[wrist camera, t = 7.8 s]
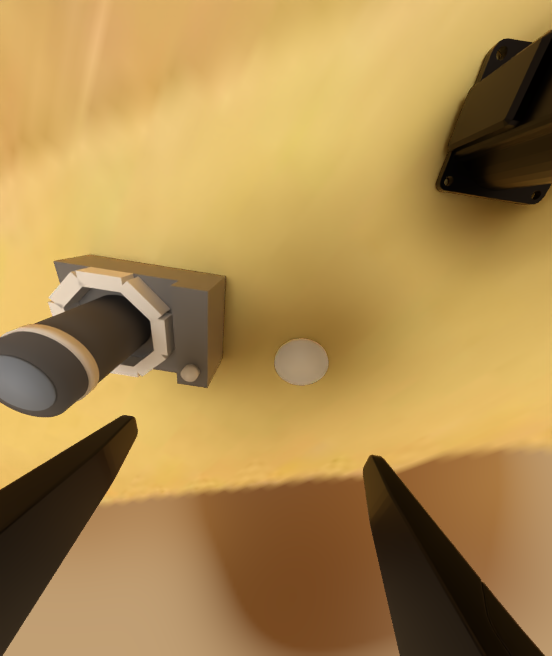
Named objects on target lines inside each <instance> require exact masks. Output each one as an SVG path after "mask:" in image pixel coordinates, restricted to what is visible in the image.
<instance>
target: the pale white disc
mask: <svg viewBox="0 0 552 656" xmlns="http://www.w3.org/2000/svg"><path fill="white" fill-rule="evenodd" d="M328 364H329V362H328V357H327V353H326V351H325V350H324V348H323V347H322V346H321V345H320V344H319V343H317V342H315V341H313V340H310V339H305V338H298V339H293V340H290V341H288V342H286V343H284V344H283V345H282V346H281V347H280V348H279V349H278V351H277V353H276V355H275V362H274V365H275V369H276V372H277V374H278V375H279V376H280V377H281V378H282V379H283V380H285V381H286V382H288V383H291V384H294V385H309V384H312V383H315V382H317V381H318V380H320V379H321V378H322V377H323V376H324V375H325V373H326V372H327V369H328Z"/></svg>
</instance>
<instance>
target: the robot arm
mask: <svg viewBox="0 0 552 656" xmlns="http://www.w3.org/2000/svg"><path fill="white" fill-rule="evenodd" d="M497 51H499V52H500V53H501V58H500V60H498V59H497V58H496V54H497ZM448 147H449V152H448V154H447V157H446V159H445V162H444V164H443V167H442V169H441V172H440V175H439V177H438V180H437V183H436V186H437V189H438V190H439V191H443V192H449V193H455V194H461V195H468V196H474V197H480V198H486V199H492V200H498V201H505V202H511V203H517V204H523V205H529V204H536V203H538V202H539V201H541V200H542V198H543V197H544V196H545V194H546V192H547V191H548V189H549V187H550V186H551V184H552V30H550V31H548V32H547V33H546V34H544V35H543V36H542V37H540V38H539V39H537V40H536V41H535V42H533V43H532V42H526V41H520V40H514V39H503V40H501V41H499V42H498V43H497V44H496V45H495V46H493V47H492V48H491V50H490V51H489V52H488V54H487V56H486V58H485V60H484V63H483V65H482V68H481V70H480V73H479V76H478V78H477V81H476V83H475V86H474V87H472V88H471V89H470V90H469V93H468V95H467V98H466V100H465V103H464V105H463V108H462V110H461V113H460V116H459V118H458V121H457V123H456V126H455V128H454V131H453V134H452V136H451V139H450V141H449V144H448ZM446 178H449V183H448V185H447V186H446V185H445V184H444V181H445V179H446ZM533 193H535V195H534V197H533V198H531V196H532V194H533ZM137 434H138V429H137V424H136V419H135V417H133V416H127V415H123V416H120V417H119V418H117V419H115V420H114V421H112V422H111V423H109V424H107V425H106V426H104V427H102V428H101V429H99V430H97V431H96V432H94V433H92V434H91V435H89V436H88V437H86V438H84V439H83V440H81V441H79V442H78V443H76V444H74V445H73V446H71V447H70V448H68V449H66V450H65V451H63V452H61V453H60V454H58V455H56V456H55V457H53V458H52V459H50V460H48V461H47V462H45V463H43V464H42V465H40V466H38V467H37V468H35V469H33V470H32V471H30V472H29V473H27V474H25V475H24V476H22V477H20V478H19V479H17V480H15V481H14V482H12V483H11V484H9V485H7V486H6V487H4V488H2V489H1V490H0V656H3V654H4V653H5V651H6V649H7V648H8V646H9V645H10V643H11V642H12V640H13V638H14V637H15V635H16V633H17V632H18V631H19V629H20V627H21V626H22V624H23V623H24V621H25V619H26V618H27V616H28V615H29V613H30V612H31V610H32V608H33V607H34V605H35V604H36V602H37V601H38V599H39V597H40V596H41V594H42V593H43V591H44V590H45V588H46V586H47V585H48V583H49V582H50V580H51V579H52V577H53V576H54V574H55V572H56V571H57V569H58V568H59V566H60V565H61V563H62V561H63V559H64V558H65V557H66V555H67V553H68V552H69V550H70V549H71V547H72V546H73V544H74V543H75V541H76V539H77V538H78V536H79V535H80V533H81V531H82V530H83V528H84V527H85V525H86V523H87V522H88V521H89V519H90V517H91V516H92V514H93V513H94V511H95V509H96V508H97V506H98V505H99V503H100V502H101V500H102V499H103V497H104V495H105V494H106V492H107V491H108V489H109V487H110V486H111V484H112V483H113V481H114V479H115V477H116V475H117V474H118V472H119V470H120V468H121V466H122V464H123V462H124V460H125V458H126V456H127V454H128V452H129V450H130V449H131V447H132V445H133V443H134V441H135V439H136V437H137ZM363 478H364V485H365V493H366V500H367V507H368V515H369V521H370V526H371V531H372V535H373V540H374V544H375V548H376V553H377V557H378V562H379V566H380V570H381V575H382V579H383V583H384V588H385V592H386V597H387V601H388V605H389V610H390V614H391V619H392V623H393V628H394V632H395V636H396V641H397V645H398V650H399V654H400V656H545V655H544V654H543V653H542V652H541V651H540V649H539V648H538V647H537V646H536V645H535V644H534V642H533V641H532V640H531V639H530V638H529V637H528V635H526V633H525V632H524V631H523V630H522V629H521V627H520V626H519V625H518V624H517V622H516V621H515V620H514V619H513V618H512V617H511V615H510V614H509V613H508V612H507V610H506V609H505V608H504V607H503V606H502V604H501V603H500V602H499V601H498V599H497V598H496V597H495V596H494V595H493V593H492V592H491V591H490V590H489V588H488V587H487V586H486V585H485V583H483V582H481V579H480V577H479V576H478V575H477V574H476V572H475V571H474V570H473V569H472V567H471V566H470V565H469V564H468V562H467V561H466V560H465V559H464V558H463V556H462V555H461V554H460V552H459V551H458V550H457V549H456V548H455V546H454V545H453V544H452V543H451V541H450V540H449V539H448V538H447V536H446V535H445V534H444V533H443V531H442V530H441V529H440V528H439V527H438V525H437V524H436V523H435V521H434V520H433V519H432V518H431V517H430V515H429V514H428V513H427V512H426V510H425V509H424V508H423V507H422V505H421V504H420V503H419V502H418V500H417V499H416V498H415V497H414V496H413V494H412V493H411V492H410V490H409V489H408V488H407V487H406V486H405V484H404V483H403V482H402V481H401V479H400V478H399V477H398V476H397V474H396V473H395V472H394V471H393V469H392V468H391V467H390V466H389V464H388V463H387V462H386V461H385V459H384V458H382V457H381V456H376V455H370V456H369V458H368V460H367V462H366V463H365V465H364V468H363Z"/></svg>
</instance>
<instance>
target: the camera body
mask: <svg viewBox="0 0 552 656" xmlns="http://www.w3.org/2000/svg"><path fill="white" fill-rule="evenodd" d="M54 264H55V268H56V271H57V274H58V278H59V281H60V285H59V286H58V287H57V288H56V289H55V290H54V292H53V293H52V294H51V295H50V296H49V297H48V298H49V299H51V300H52V301H50V302H48V304H49V307H50V310H51V313H52V316H55V315H57V314H60V313H62V312H65V311H67V310H70V309H72V308H75V307H77V306H80V305H82V304H85V303H87V302H90V301H92V300H95V299H97V298H100V297H102V296H105V295H120V296H123V297H126V298H127V299H128V300H129V301H130V302H131V303H132V304H133V305H134V306H135V307H136V308H137V309H138V310H139V311H140V312H141V313H142V314H144V315H145V316H146V317H147V318H148V319H149V321H150V324H151V334H150V337H149V339H148V341H147V342H146V343H145V344H143V345H142V346H141V347H140V348H139V349H138V350H136V351H135V352H134V353H133V354H132V355H130V356H129V357H128V358H127V359H126V360H125V361H123V362H122V363H121V364H120V365H119V366H117V367H116V368H115V369H114V370H113V371H112V372H110V373H114V374H120V375H127V376H133V377H139V376H140V375H141V376H144V375H145V374H146V373H148V372H149V371H151V370H152V369H156V370H162V371H169V372H175V373H177V383H178V384H185V385H191V386H198V387H204V388H208V386H209V384H210V382H211V380H212V378H213V376H214V374H215V372H216V370H217V368H218V366H219V364H220V362H221V360H222V354H223V329H224V305H225V280H226V276H221V275H215V274H208V273H202V272H196V271H189V270H183V269H177V268H170V267H164V266H158V265H151V264H145V263H139V262H132V261H126V260H120V259H113V258H107V257H101V256H94V255H85V256H80V257H74V258H68V259H62V260H57V261H54Z"/></svg>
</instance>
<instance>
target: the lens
mask: <svg viewBox="0 0 552 656" xmlns="http://www.w3.org/2000/svg"><path fill="white" fill-rule="evenodd" d="M150 334H151V324H150V321H149V319H148V318H147V317H146V316H145V315H144V314H142V313H141V312H140V311H139V310H138V309H137V308H136V307H135V306H134V305H133V304H132V303H131V302H130V301H129V300H128V299H127V298H126V297H123V296H120V295H105V296H102V297H100V298H97V299H95V300H92V301H90V302H87V303H85V304H82V305H80V306H77V307H75V308H72V309H70V310H67V311H65V312H62V313H60V314H57V315H55V316H52V317H50V318H47V319H45V320H42V321H40V322H38V323H35V324H29V325H24V326H22V327H19V328H17V329H14V330H12V331H9V332H7V333H5V334H3V335H2V336H1V337H0V402H1V403H2V404H4V405H6V406H7V407H9V408H11V409H13V410H16V411H18V412H21V413H24V414H27V415H31V416H36V417H53V416H57V415H59V414H62V413H63V412H64V411H66V410H67V409H68V408H69V407H70V406H72V405H73V404H74V403H75V402H76V401H79V400H81V399H82V398H84V397H85V396H86V395H87V394H89V393H90V392H91V391H92V390H93V389H94V388H95V387H96V386H97V384H98V383H99V382H100V381H101V380H102V379H103V378H105V377H106V376H107V375H108V374H109V373H110V372H112V371H113V370H114V369H115V368H116V367H117V366H119V365H120V364H121V363H122V362H123V361H125V360H126V359H127V358H128V357H129V356H130V355H132V354H133V353H134V352H135V351H136V350H138V349H139V348H140V347H141V346H142V345H143V344H145V343H146V342H147V341H148V339H149V337H150Z"/></svg>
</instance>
